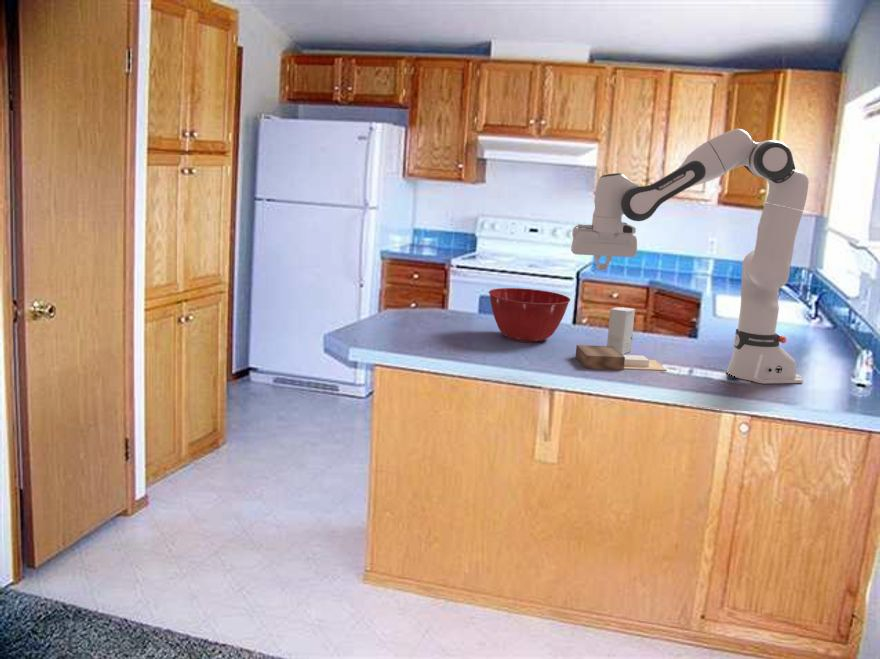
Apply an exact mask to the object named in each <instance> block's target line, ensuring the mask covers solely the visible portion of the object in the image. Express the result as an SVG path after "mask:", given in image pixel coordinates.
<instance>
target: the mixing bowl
mask: <svg viewBox="0 0 880 659" xmlns="http://www.w3.org/2000/svg"><path fill="white" fill-rule="evenodd" d="M488 294H489V299H490V305H491V311H492V313H493V314H492V315H493V318H494V320H495V323H496V325H497V328H498V330H500V332H501V333H502V334H503V335H504V336H505V337H506V338H507V339H510V340H512V341H517V342H522V341H523V342H525V343H538V342H537V341H541V342H543V340H544V341H545V340H547V339H549V338H550V337H551V336H552V335H553V334H554V333H555V332H556V330H557V329H558V328H559V326H560V324H561V322H562V320H563V318H564V316H565V313H566V311H567V308H568V306H569V302H571V298H570V297H569V296H567V295H564V294H561V293H557V292H553V291H547V290H541V289H532V288H520V287H519V288H518V287H517V288H516V287H503V288H502V287H501V288H492V289H490V290H489V291H488ZM523 342H522V343H523Z"/></svg>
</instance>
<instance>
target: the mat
mask: <svg viewBox="0 0 880 659" xmlns="http://www.w3.org/2000/svg"><path fill="white" fill-rule="evenodd" d="M648 360H649V367H647V366H624V370H639V371H640V370H641V371H644V370H645V371H661V370H667V368H665V367H664V366H663V365H662V364H661V363H659V362H658V361H657V360H655V359H648Z"/></svg>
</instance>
